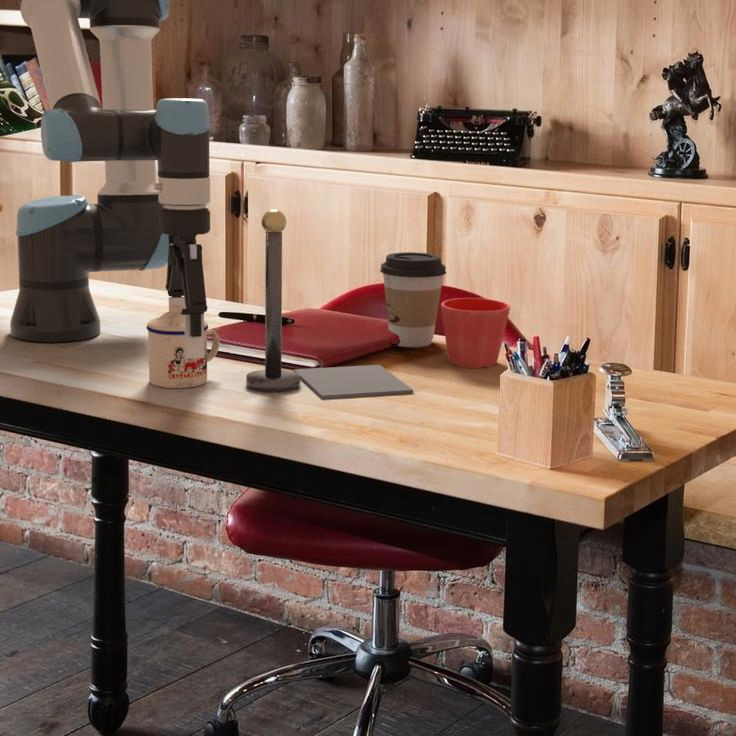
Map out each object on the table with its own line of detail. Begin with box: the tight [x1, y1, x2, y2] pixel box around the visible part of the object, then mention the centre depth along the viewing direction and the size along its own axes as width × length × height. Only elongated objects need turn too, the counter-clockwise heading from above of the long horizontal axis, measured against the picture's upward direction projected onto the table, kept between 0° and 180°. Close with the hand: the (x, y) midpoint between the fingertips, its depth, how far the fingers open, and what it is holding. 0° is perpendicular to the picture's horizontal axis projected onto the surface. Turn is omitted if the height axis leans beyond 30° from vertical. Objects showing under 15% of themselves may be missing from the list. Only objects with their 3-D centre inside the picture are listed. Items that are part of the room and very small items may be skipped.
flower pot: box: [440, 297, 511, 369], centre depth 215 cm, size 11×11×10 cm
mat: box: [293, 364, 414, 400], centre depth 202 cm, size 16×14×1 cm
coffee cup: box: [379, 251, 447, 348], centre depth 228 cm, size 11×11×15 cm
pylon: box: [245, 209, 301, 394], centre depth 196 cm, size 8×8×26 cm
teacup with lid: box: [146, 305, 220, 389], centre depth 200 cm, size 12×9×12 cm
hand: (186, 348), depth 200 cm, fingers open, 13 cm apart
